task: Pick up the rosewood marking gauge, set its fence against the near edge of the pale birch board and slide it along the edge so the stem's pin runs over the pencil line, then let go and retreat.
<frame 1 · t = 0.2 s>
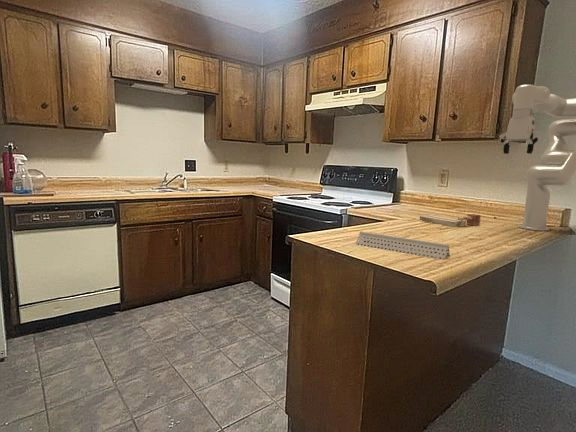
hand: (517, 153, 160), 36 cm above the table, fingers open, 9 cm apart
corner bead: (400, 252, 125), on the table
gauge: (472, 225, 182), on the table
board: (441, 223, 186), on the table
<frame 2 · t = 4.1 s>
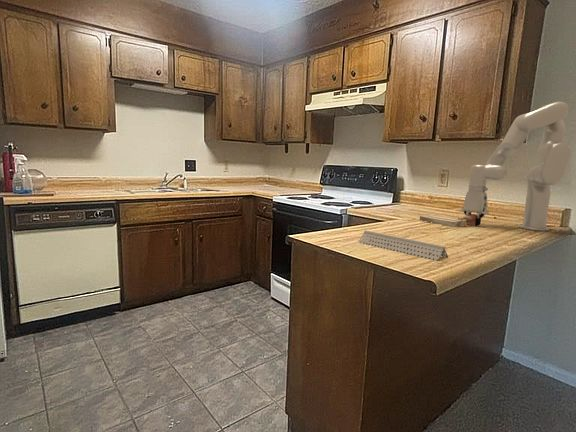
hand: (472, 224, 182), 0 cm above the table, fingers closed on gauge, 4 cm apart
gauge: (472, 225, 182), on the table, touching gripper
when the fingers open (1 cm above the table, at t = 11.0 s): gauge stays where it is, on the table.
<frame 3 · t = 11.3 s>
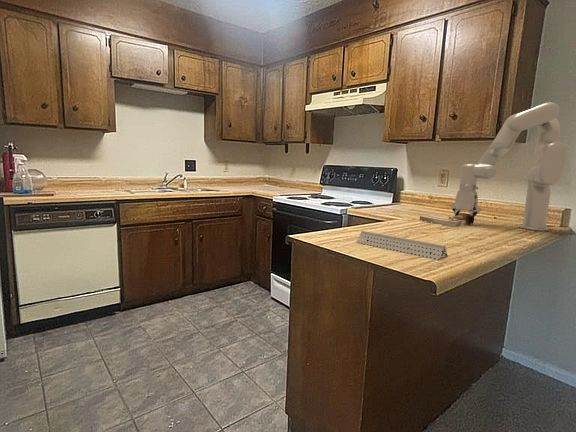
hand: (463, 222, 184), 1 cm above the table, fingers open, 7 cm apart
gauge: (463, 224, 185), on the table
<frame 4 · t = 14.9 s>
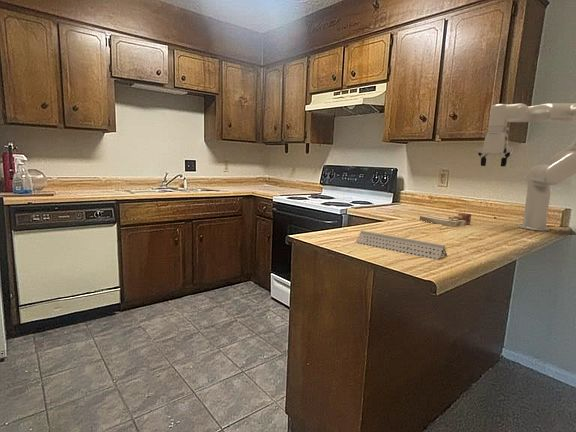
hand: (492, 166, 175), 30 cm above the table, fingers open, 9 cm apart
at the end: gauge inside the target area (0.1 cm from its centre), on the table; gauge tilted 0°; the gripper is holding nothing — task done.
